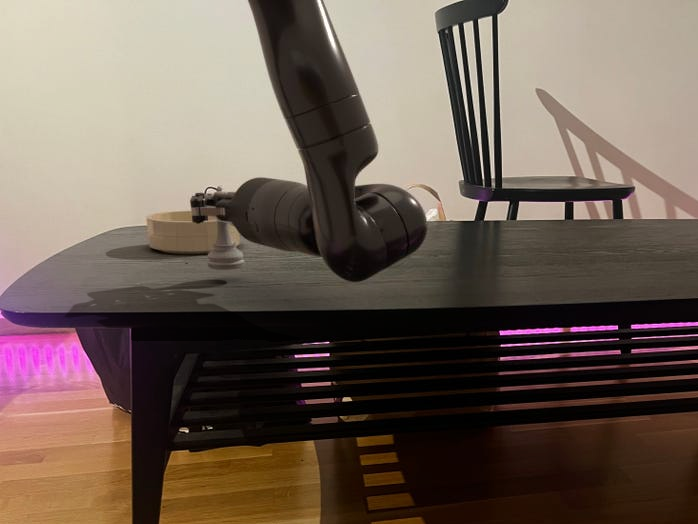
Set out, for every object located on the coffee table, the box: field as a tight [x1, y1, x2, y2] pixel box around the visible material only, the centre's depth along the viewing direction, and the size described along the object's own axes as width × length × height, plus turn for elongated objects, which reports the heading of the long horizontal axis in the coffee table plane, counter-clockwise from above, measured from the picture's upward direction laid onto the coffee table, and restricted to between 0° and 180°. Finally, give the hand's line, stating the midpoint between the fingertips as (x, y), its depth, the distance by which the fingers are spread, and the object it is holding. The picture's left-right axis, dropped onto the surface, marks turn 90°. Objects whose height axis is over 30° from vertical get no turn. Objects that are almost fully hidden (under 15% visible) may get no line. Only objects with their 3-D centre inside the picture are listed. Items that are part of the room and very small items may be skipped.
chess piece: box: [207, 185, 246, 271], centre depth 87 cm, size 4×4×10 cm
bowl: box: [145, 210, 241, 255], centre depth 109 cm, size 13×13×5 cm
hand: (209, 200), depth 88 cm, fingers closed on chess piece, 2 cm apart
